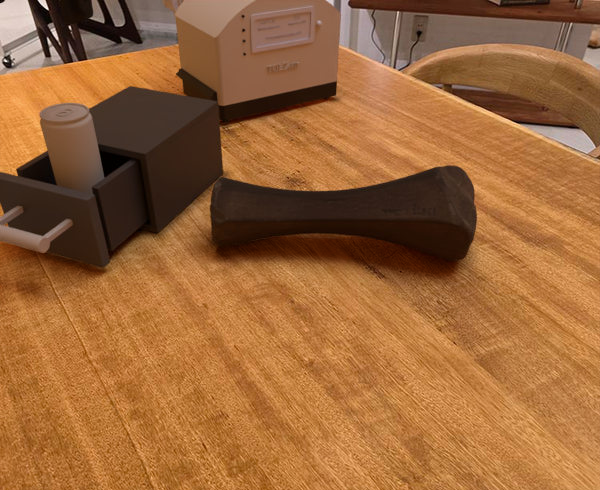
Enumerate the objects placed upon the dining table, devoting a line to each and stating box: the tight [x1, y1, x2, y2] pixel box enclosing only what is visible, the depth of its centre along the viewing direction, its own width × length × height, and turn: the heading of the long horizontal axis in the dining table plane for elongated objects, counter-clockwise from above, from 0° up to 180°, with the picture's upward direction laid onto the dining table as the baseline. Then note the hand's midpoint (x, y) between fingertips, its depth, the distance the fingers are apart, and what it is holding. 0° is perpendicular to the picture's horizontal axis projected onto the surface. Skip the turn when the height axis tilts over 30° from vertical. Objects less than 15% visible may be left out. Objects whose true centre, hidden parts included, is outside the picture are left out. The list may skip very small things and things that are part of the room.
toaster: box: [161, 0, 342, 124], centre depth 95 cm, size 23×25×17 cm
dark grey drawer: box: [0, 150, 150, 269], centre depth 62 cm, size 20×11×8 cm, turn 158°
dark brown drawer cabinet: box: [88, 85, 224, 234], centre depth 70 cm, size 16×13×10 cm
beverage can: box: [39, 102, 104, 194], centre depth 60 cm, size 5×5×12 cm
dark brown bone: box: [209, 164, 478, 262], centre depth 62 cm, size 11×10×28 cm
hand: (34, 12), depth 52 cm, fingers open, 9 cm apart
